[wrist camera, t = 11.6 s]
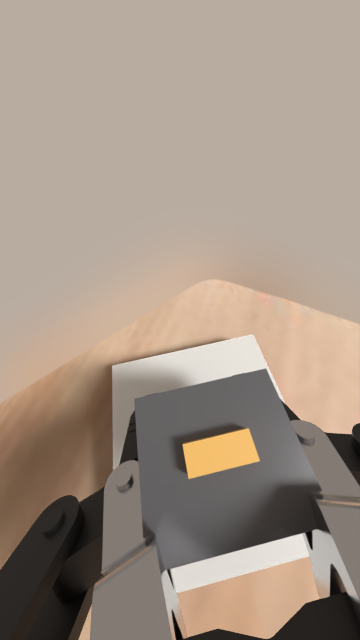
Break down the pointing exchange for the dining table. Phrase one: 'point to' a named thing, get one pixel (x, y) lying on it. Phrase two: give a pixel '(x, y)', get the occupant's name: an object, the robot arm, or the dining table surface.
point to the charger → (220, 469)
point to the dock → (181, 373)
